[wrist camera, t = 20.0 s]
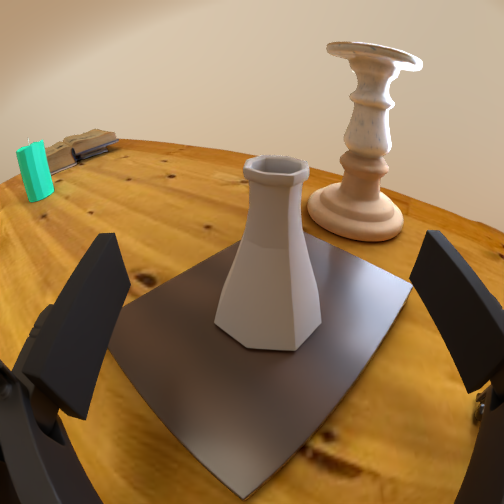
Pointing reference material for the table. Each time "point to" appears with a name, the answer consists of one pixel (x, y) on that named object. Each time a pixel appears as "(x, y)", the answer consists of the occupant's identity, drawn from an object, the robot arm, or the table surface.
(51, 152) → the book
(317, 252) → the walnut board
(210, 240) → the table surface
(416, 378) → the table surface
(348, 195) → the candle holder
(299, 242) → the flask
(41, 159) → the candle
